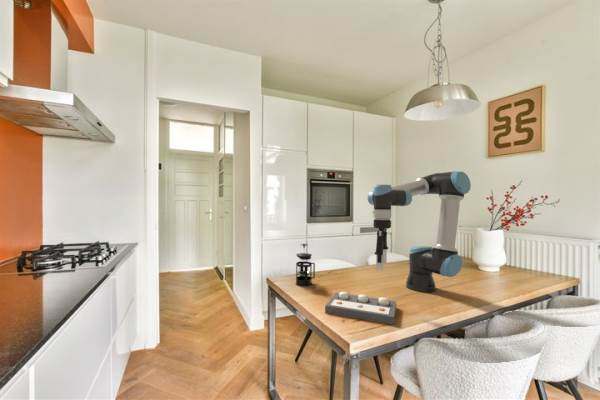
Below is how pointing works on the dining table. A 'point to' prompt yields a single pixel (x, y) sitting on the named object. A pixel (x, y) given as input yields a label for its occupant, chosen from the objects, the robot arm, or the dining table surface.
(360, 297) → the button middle
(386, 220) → the robot arm
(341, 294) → the button
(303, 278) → the french press
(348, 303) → the button board
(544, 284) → the dining table surface
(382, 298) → the button
